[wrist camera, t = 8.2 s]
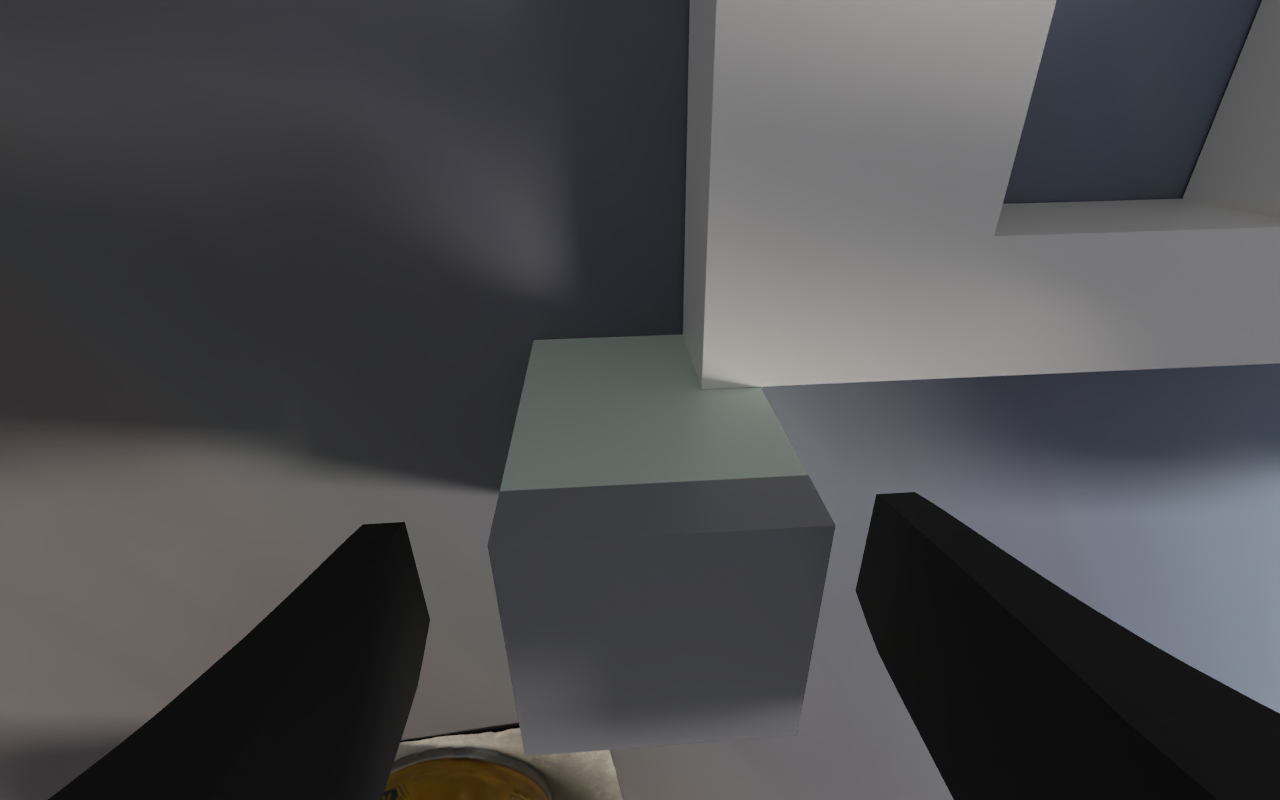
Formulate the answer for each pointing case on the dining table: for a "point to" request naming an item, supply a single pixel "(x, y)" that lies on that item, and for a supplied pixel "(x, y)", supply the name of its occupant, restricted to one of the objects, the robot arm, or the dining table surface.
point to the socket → (949, 207)
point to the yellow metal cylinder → (497, 771)
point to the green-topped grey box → (652, 553)
